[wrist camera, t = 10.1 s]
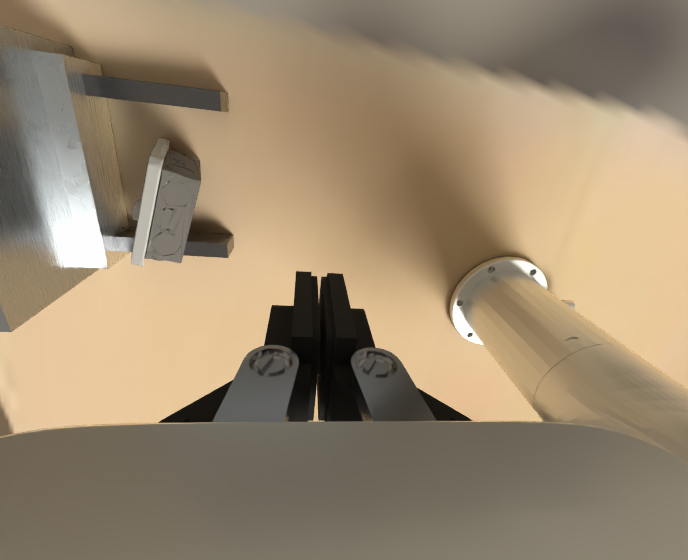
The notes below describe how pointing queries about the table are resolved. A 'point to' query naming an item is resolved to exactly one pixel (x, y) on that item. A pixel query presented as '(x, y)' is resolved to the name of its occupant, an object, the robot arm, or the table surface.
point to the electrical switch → (165, 205)
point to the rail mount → (67, 172)
